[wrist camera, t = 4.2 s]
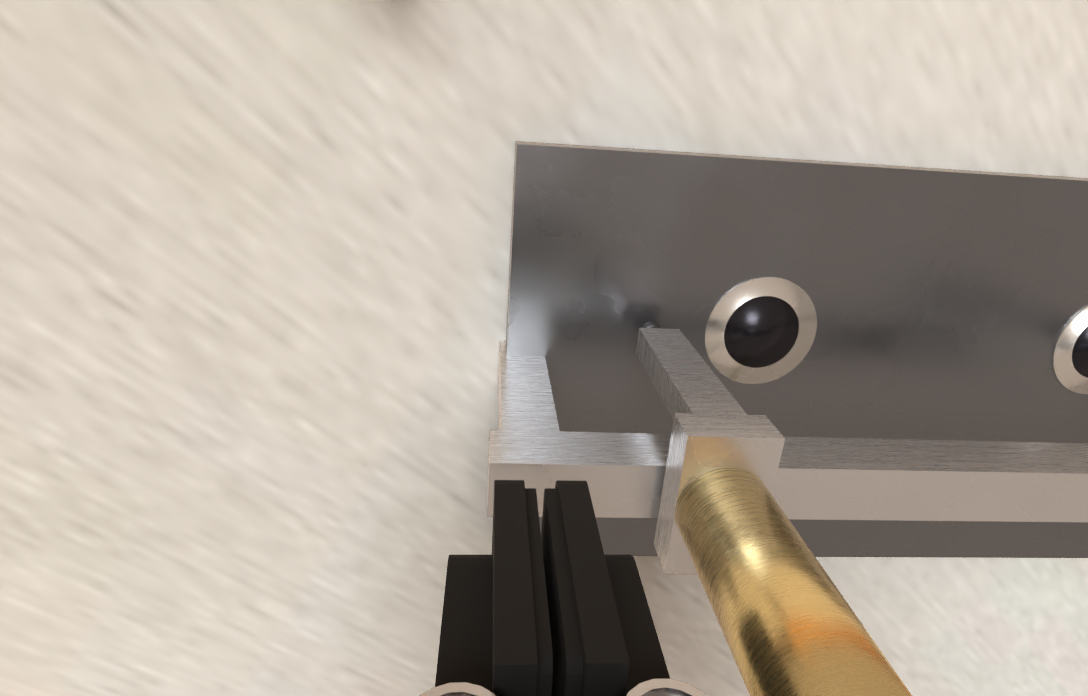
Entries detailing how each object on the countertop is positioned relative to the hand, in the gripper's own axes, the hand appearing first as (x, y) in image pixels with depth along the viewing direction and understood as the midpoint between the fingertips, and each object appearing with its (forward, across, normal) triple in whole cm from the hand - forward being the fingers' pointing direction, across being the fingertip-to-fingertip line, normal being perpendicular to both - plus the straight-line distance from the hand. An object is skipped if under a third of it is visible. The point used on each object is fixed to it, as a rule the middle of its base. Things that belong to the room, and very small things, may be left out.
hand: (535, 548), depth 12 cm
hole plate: (+10, -11, +1) cm, 15 cm away
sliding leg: (+9, -4, 0) cm, 9 cm away
